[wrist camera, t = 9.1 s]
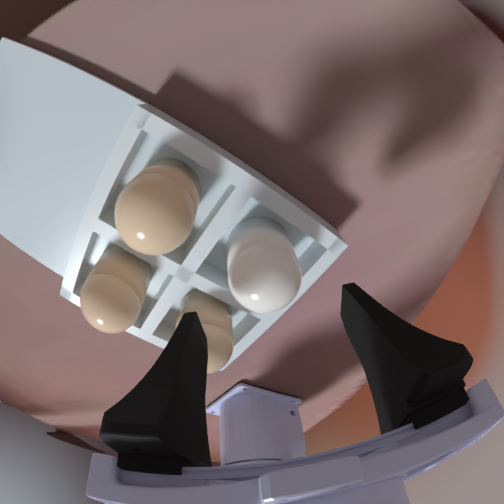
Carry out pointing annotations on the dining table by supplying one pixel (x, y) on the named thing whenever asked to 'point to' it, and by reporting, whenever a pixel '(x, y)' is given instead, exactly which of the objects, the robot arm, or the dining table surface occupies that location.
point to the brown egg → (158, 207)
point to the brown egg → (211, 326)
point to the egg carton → (117, 177)
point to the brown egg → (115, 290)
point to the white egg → (262, 265)
